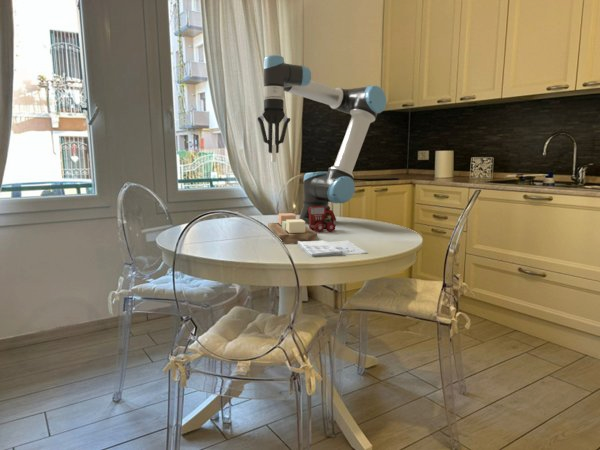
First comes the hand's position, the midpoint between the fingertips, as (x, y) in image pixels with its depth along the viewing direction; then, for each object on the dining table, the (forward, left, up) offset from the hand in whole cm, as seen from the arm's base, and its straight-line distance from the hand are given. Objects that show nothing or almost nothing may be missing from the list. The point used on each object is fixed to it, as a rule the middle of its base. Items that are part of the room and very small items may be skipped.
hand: (273, 161), depth 169 cm
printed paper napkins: (-15, +31, -29) cm, 45 cm away
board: (-6, +6, -28) cm, 30 cm away
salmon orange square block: (-6, -2, -25) cm, 26 cm away
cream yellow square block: (-6, +14, -25) cm, 29 cm away
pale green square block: (-6, +6, -27) cm, 28 cm away
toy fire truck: (-21, -2, -29) cm, 36 cm away
